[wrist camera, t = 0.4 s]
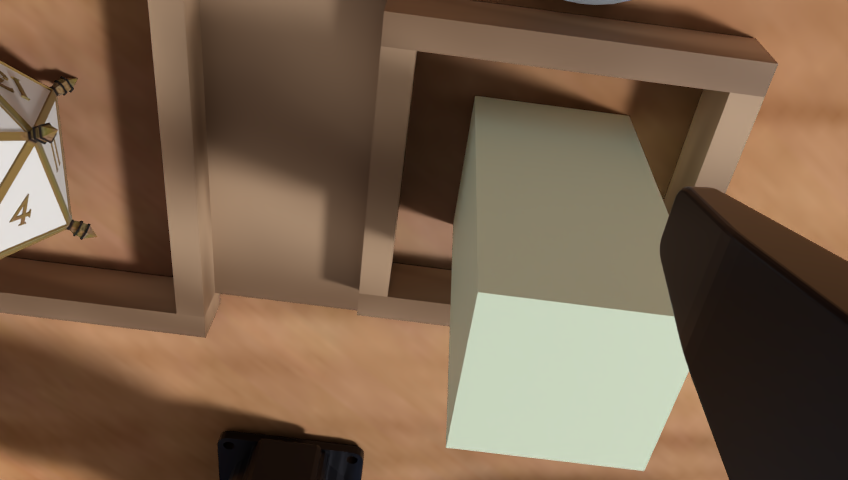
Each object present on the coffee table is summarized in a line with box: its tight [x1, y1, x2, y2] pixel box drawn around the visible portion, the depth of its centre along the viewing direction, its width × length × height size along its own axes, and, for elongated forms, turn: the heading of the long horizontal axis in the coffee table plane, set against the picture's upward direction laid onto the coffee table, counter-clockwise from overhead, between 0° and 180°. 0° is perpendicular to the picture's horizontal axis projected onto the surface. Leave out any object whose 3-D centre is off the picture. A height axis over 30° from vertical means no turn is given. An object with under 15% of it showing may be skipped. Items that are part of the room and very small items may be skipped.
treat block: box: [446, 96, 689, 471], centre depth 21 cm, size 5×5×10 cm
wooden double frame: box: [0, 0, 778, 338], centre depth 24 cm, size 15×30×2 cm, turn 83°
